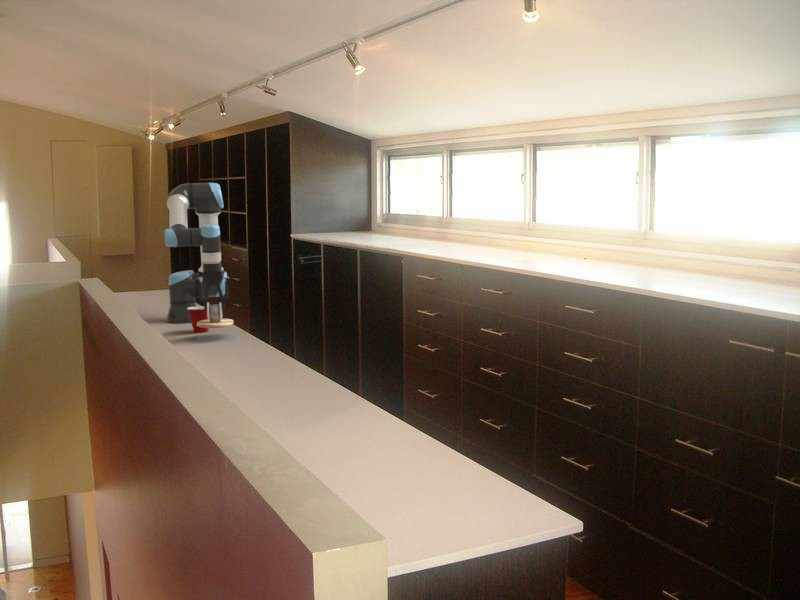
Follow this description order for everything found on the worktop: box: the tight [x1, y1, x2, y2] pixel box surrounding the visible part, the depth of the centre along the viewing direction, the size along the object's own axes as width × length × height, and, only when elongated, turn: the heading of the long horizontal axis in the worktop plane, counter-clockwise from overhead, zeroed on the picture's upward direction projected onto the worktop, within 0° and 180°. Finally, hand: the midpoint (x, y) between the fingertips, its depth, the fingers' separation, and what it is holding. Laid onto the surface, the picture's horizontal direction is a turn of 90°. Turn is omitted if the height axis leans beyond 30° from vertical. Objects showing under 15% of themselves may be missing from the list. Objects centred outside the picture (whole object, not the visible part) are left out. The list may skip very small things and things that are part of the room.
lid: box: [197, 303, 235, 329], centre depth 331 cm, size 15×15×8 cm
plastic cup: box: [187, 305, 210, 334], centre depth 346 cm, size 11×11×12 cm
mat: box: [194, 332, 237, 344], centre depth 332 cm, size 17×16×1 cm
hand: (215, 317), depth 331 cm, fingers closed on lid, 4 cm apart
